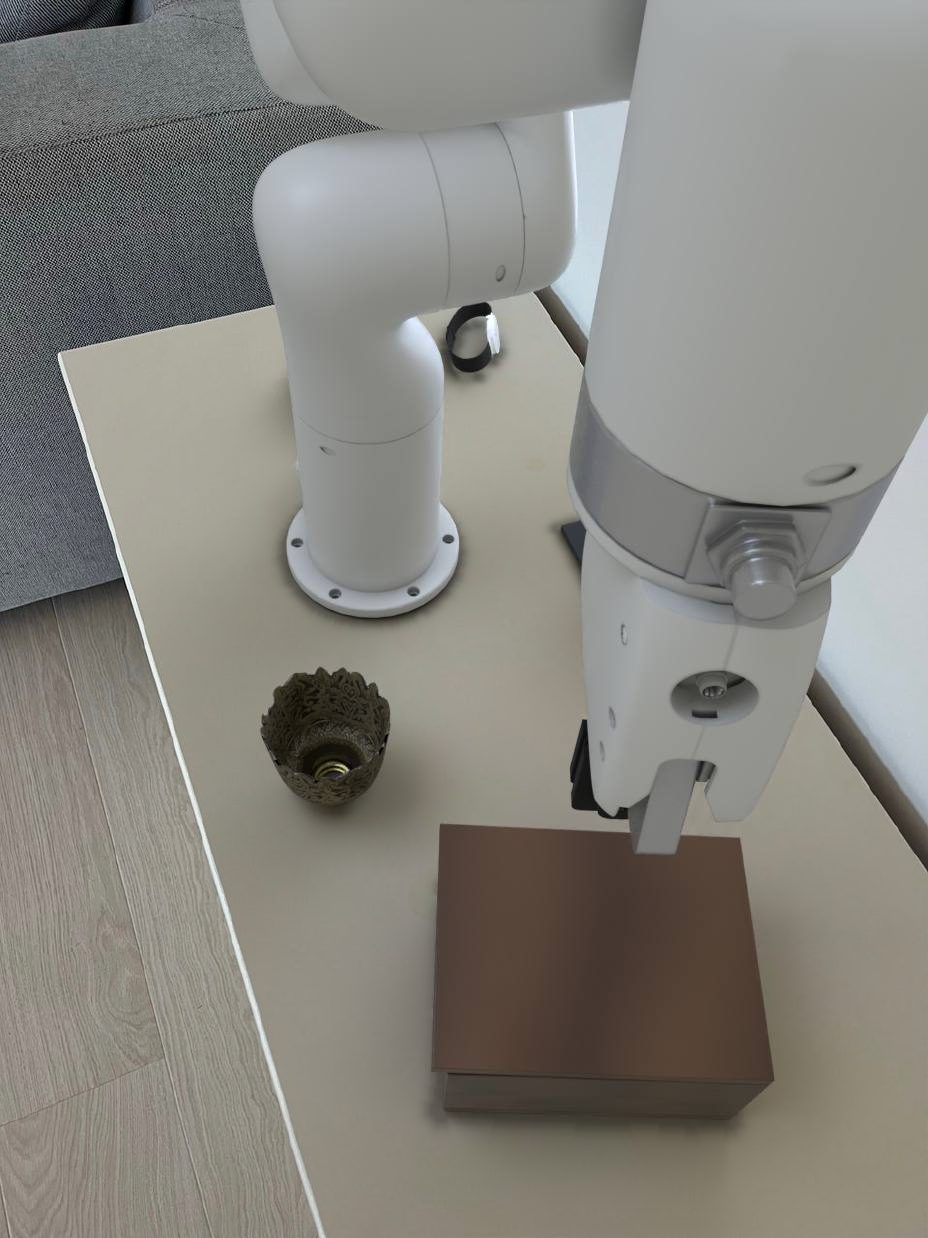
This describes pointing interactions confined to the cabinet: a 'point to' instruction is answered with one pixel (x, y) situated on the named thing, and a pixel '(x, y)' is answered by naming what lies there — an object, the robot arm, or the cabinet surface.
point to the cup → (327, 734)
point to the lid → (595, 958)
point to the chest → (595, 1096)
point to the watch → (492, 336)
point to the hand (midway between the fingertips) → (611, 792)
